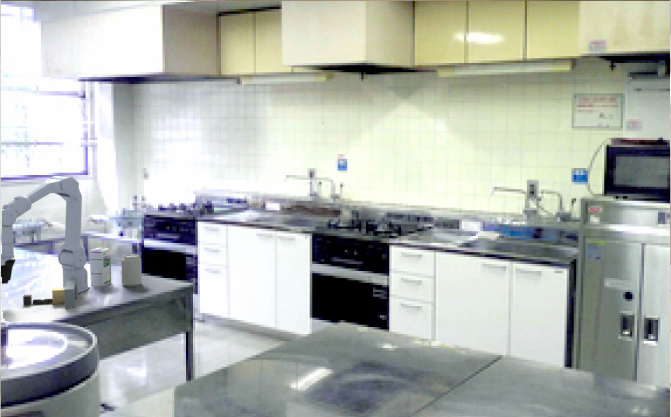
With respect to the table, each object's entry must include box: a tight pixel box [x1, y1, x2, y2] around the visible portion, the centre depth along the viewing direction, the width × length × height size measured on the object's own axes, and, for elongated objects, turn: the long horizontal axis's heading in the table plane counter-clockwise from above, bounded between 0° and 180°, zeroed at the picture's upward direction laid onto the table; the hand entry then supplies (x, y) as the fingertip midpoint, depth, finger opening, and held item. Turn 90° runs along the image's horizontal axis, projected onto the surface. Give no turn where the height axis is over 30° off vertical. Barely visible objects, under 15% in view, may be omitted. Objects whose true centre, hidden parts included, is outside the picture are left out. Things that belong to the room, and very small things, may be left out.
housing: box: [64, 279, 78, 309], centre depth 237 cm, size 3×17×7 cm, turn 18°
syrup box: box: [89, 247, 112, 287], centre depth 264 cm, size 6×6×14 cm
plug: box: [22, 286, 65, 306], centre depth 235 cm, size 14×4×5 cm, turn 107°
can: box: [120, 253, 143, 288], centre depth 264 cm, size 8×8×12 cm
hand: (5, 281), depth 230 cm, fingers open, 4 cm apart
